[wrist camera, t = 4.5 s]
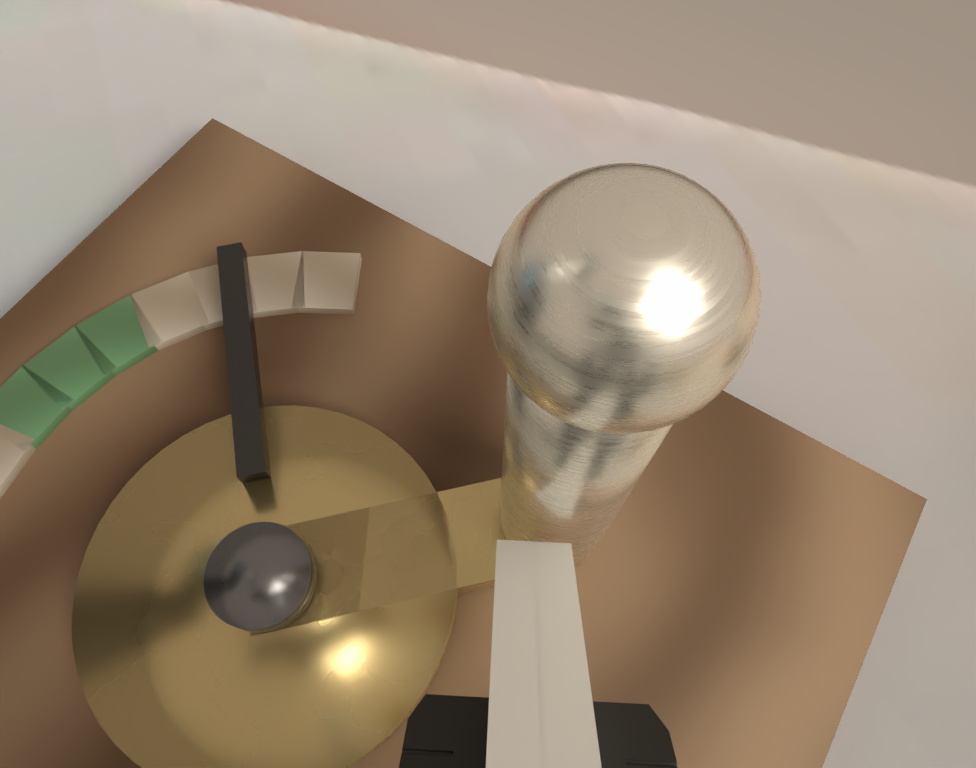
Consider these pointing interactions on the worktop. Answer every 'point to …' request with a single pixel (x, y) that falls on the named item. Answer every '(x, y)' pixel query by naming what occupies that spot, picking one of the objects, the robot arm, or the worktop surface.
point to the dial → (400, 490)
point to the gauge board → (435, 448)
